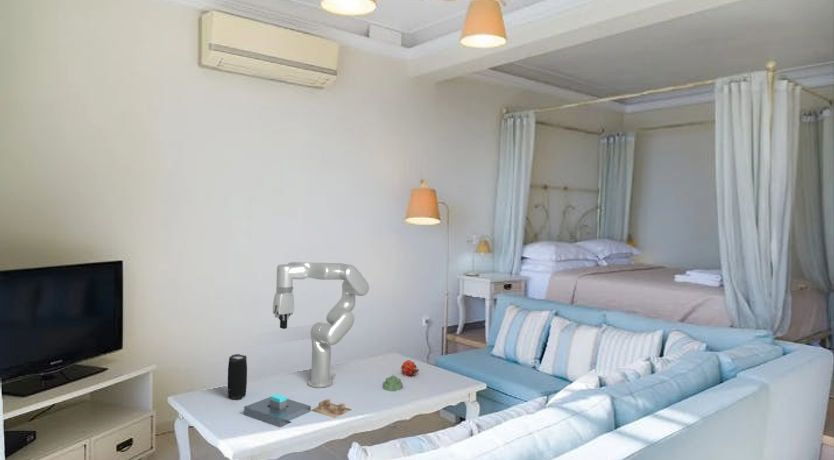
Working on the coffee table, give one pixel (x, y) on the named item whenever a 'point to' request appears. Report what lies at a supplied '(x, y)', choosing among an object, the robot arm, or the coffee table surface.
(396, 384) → the decorative artifact
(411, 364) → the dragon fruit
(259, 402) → the port
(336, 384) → the coffee table surface
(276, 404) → the plug
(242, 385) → the portable speaker
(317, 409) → the brown holder base
